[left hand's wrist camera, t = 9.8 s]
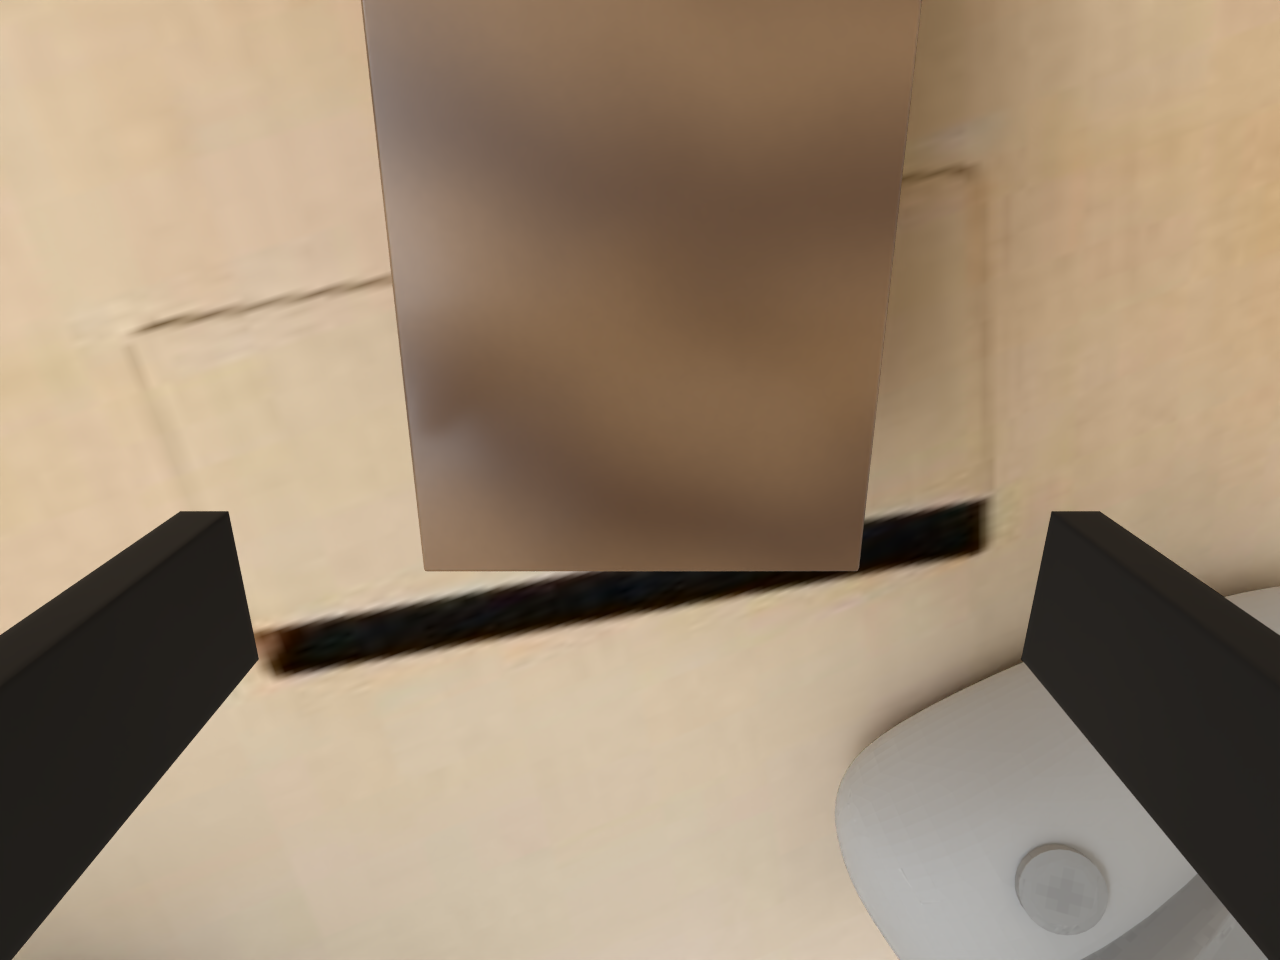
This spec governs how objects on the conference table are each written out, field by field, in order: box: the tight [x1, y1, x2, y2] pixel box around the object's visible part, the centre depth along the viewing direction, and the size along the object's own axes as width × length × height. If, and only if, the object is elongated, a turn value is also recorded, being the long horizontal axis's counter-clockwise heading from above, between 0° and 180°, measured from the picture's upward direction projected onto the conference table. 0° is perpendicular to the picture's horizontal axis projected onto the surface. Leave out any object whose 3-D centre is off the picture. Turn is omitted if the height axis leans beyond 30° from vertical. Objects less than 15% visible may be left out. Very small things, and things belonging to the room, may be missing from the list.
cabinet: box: [361, 0, 922, 571], centre depth 21 cm, size 20×11×12 cm, turn 0°
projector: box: [835, 586, 1280, 960], centre depth 29 cm, size 22×23×15 cm
